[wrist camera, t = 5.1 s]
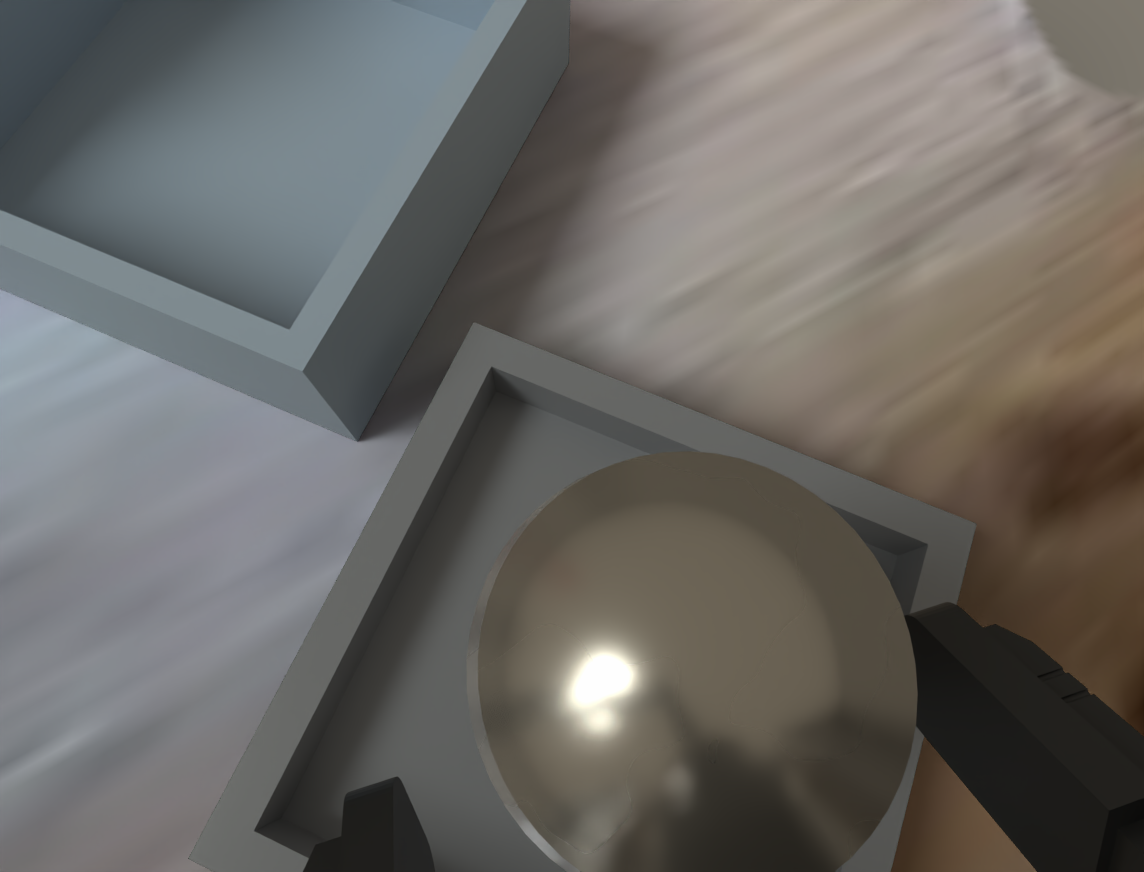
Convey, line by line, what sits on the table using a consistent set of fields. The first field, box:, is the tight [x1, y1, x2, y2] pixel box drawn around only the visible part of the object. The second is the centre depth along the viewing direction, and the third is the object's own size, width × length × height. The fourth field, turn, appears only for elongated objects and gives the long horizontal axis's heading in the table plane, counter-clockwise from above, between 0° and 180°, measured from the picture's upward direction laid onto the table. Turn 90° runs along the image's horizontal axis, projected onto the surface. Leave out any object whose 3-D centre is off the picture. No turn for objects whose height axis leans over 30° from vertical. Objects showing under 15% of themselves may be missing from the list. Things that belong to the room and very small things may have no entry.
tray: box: [188, 322, 976, 872], centre depth 18 cm, size 14×14×2 cm
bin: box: [0, 0, 570, 442], centre depth 22 cm, size 16×16×5 cm
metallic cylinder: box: [466, 451, 918, 872], centre depth 13 cm, size 5×5×12 cm
